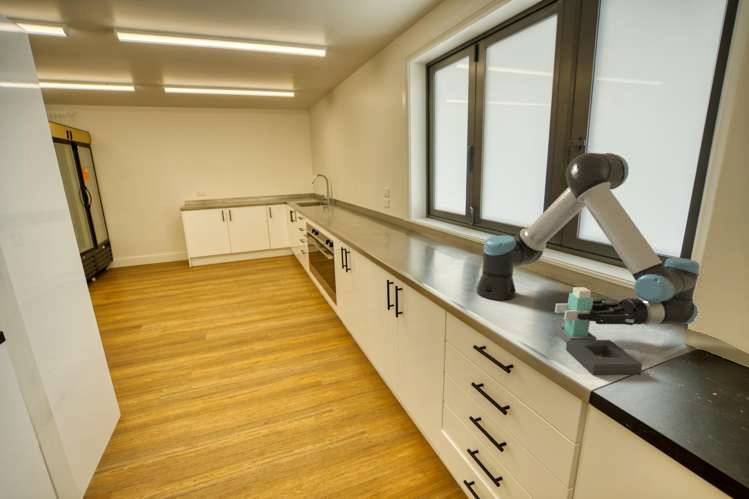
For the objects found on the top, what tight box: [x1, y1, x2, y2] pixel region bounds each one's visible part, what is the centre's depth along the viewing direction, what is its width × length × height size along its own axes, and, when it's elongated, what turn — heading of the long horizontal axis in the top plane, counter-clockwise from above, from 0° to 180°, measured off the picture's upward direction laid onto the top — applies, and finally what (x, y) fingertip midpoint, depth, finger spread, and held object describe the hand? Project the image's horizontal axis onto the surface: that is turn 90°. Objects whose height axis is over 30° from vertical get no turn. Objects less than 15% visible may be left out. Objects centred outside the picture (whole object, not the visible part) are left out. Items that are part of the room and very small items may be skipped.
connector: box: [564, 286, 594, 337], centre depth 101 cm, size 4×4×16 cm
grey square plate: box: [555, 325, 597, 345], centre depth 102 cm, size 8×8×2 cm
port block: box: [565, 339, 643, 376], centre depth 91 cm, size 12×12×3 cm
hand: (560, 311), depth 100 cm, fingers closed on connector, 4 cm apart
